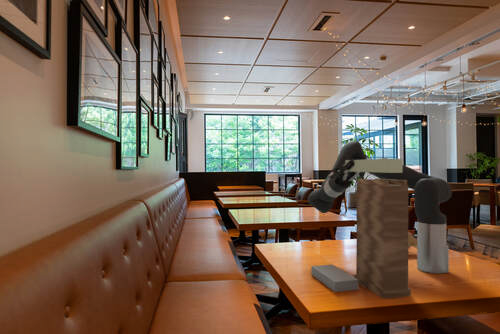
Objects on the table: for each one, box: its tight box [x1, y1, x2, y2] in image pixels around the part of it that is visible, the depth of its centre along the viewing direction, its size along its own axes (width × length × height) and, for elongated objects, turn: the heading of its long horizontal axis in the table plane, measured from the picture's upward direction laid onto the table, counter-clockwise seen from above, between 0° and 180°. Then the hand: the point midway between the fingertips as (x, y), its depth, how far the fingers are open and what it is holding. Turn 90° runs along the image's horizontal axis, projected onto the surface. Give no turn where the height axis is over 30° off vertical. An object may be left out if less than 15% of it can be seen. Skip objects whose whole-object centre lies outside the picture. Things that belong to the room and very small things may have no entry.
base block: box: [310, 263, 359, 293], centre depth 106 cm, size 16×8×3 cm, turn 15°
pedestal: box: [353, 178, 412, 300], centre depth 100 cm, size 15×9×34 cm, turn 15°
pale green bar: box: [345, 158, 403, 173], centre depth 105 cm, size 24×4×4 cm, turn 15°
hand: (359, 161), depth 111 cm, fingers closed on pale green bar, 4 cm apart
